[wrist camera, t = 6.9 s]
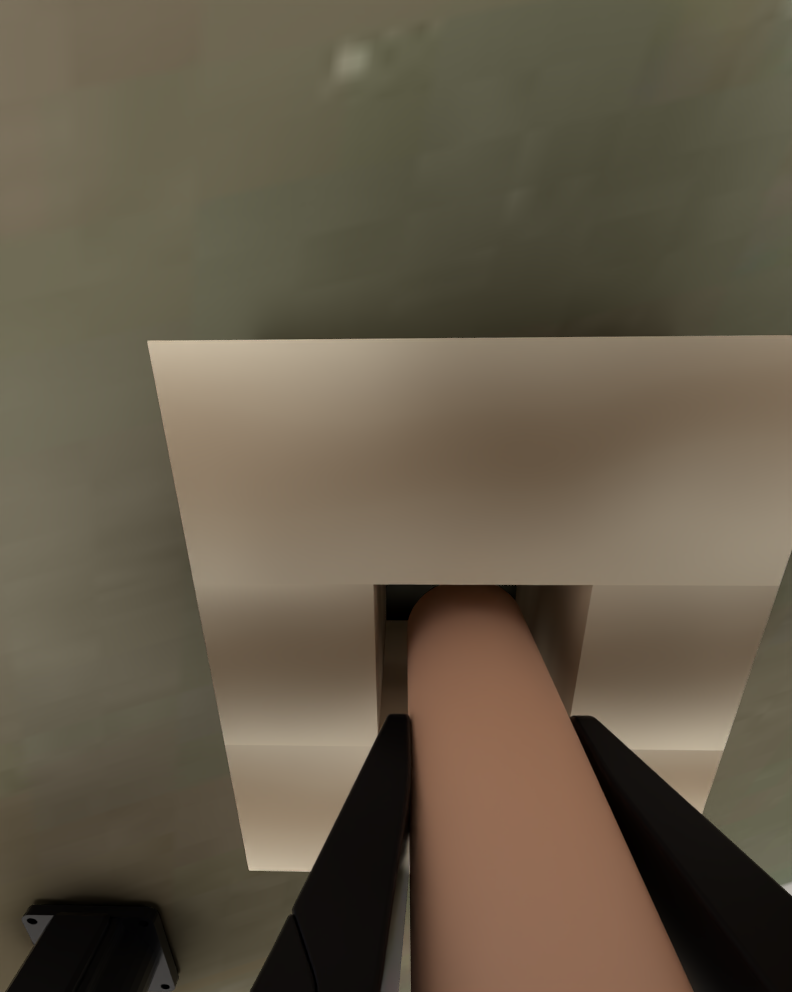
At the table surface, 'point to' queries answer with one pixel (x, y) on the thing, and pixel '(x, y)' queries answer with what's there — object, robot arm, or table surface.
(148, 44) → the table surface
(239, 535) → the hole block
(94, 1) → the table surface
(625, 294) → the table surface
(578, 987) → the peg
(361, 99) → the table surface
